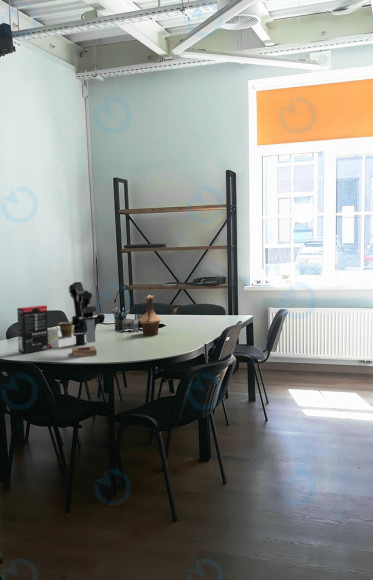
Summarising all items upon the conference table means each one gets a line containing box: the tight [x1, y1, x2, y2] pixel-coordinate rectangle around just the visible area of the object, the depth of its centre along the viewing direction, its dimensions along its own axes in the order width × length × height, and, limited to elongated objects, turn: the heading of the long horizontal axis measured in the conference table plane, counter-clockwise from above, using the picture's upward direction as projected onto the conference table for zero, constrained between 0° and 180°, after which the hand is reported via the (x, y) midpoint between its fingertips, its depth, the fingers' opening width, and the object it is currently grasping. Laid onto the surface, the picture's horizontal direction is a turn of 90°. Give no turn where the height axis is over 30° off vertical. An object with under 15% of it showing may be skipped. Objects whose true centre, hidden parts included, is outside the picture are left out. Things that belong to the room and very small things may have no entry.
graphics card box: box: [16, 304, 49, 354], centre depth 301 cm, size 17×7×27 cm, turn 141°
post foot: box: [71, 345, 98, 358], centre depth 289 cm, size 13×13×3 cm
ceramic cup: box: [55, 321, 74, 338], centre depth 352 cm, size 13×10×10 cm
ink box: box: [47, 327, 60, 349], centre depth 313 cm, size 9×5×12 cm, turn 107°
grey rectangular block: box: [85, 319, 96, 344], centre depth 289 cm, size 4×4×13 cm
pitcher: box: [137, 294, 163, 336], centre depth 352 cm, size 18×17×28 cm
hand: (90, 331), depth 288 cm, fingers closed on grey rectangular block, 4 cm apart
